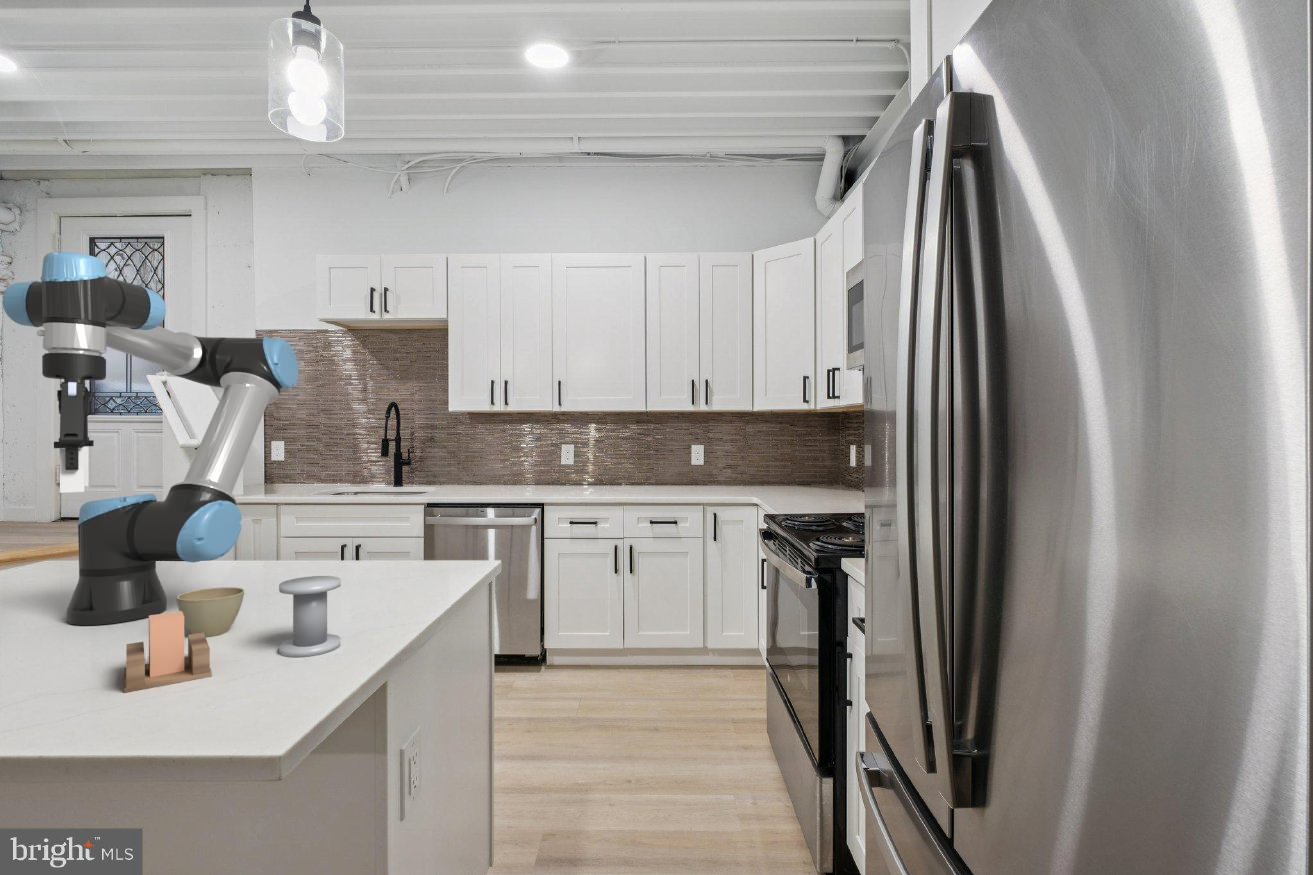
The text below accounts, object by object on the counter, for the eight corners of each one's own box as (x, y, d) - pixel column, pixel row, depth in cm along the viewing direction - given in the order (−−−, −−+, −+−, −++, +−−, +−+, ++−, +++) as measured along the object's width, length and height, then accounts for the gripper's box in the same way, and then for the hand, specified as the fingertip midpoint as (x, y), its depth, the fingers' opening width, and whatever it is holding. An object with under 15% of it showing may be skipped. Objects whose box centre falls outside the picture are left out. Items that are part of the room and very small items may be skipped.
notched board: (124, 672, 98) (124, 644, 98) (205, 657, 104) (205, 631, 104) (124, 692, 90) (123, 662, 90) (211, 676, 96) (211, 648, 96)
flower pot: (210, 643, 111) (210, 601, 111) (161, 639, 113) (161, 598, 113) (257, 626, 121) (257, 587, 121) (211, 623, 123) (211, 585, 123)
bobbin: (274, 646, 110) (274, 580, 110) (333, 636, 115) (333, 573, 115) (284, 661, 103) (284, 590, 103) (346, 649, 108) (346, 582, 108)
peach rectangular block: (182, 663, 100) (182, 610, 100) (184, 670, 97) (184, 616, 97) (148, 669, 97) (148, 615, 97) (150, 677, 94) (149, 621, 94)
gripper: (49, 359, 111) (50, 485, 111) (33, 343, 91) (33, 496, 91) (107, 362, 115) (108, 483, 115) (103, 348, 96) (104, 493, 96)
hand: (75, 489), depth 103 cm, fingers open, 13 cm apart
